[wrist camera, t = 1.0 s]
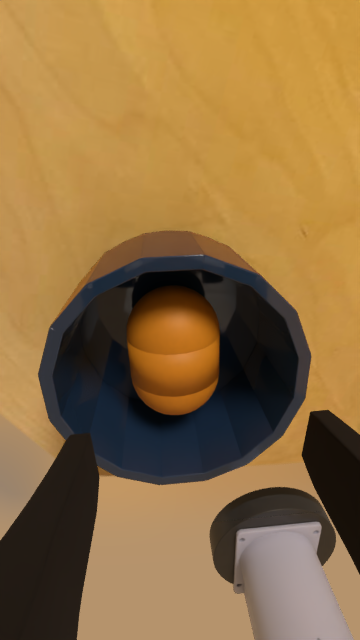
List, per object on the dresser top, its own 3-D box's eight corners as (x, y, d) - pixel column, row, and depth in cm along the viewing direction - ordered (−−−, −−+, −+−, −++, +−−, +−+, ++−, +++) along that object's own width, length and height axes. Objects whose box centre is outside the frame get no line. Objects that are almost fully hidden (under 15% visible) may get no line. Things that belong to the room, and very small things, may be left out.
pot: (259, 399, 24) (295, 473, 18) (88, 412, 23) (66, 494, 17) (272, 225, 19) (327, 247, 13) (55, 236, 18) (9, 264, 12)
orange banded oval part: (211, 378, 22) (226, 431, 18) (136, 384, 22) (132, 439, 17) (211, 271, 19) (230, 301, 15) (125, 276, 19) (116, 308, 14)
